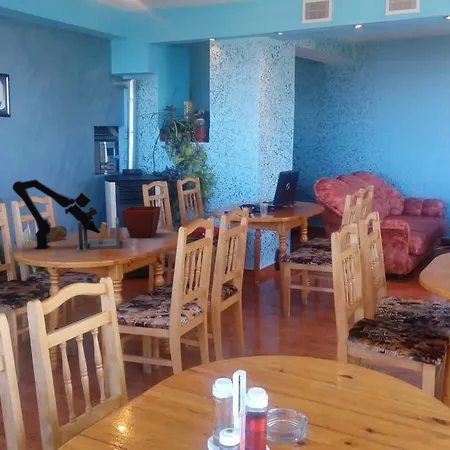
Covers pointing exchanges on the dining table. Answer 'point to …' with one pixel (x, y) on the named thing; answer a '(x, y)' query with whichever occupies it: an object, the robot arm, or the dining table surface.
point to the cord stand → (82, 240)
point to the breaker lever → (102, 232)
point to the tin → (57, 233)
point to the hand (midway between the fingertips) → (99, 232)
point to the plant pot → (142, 220)
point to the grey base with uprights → (107, 240)
